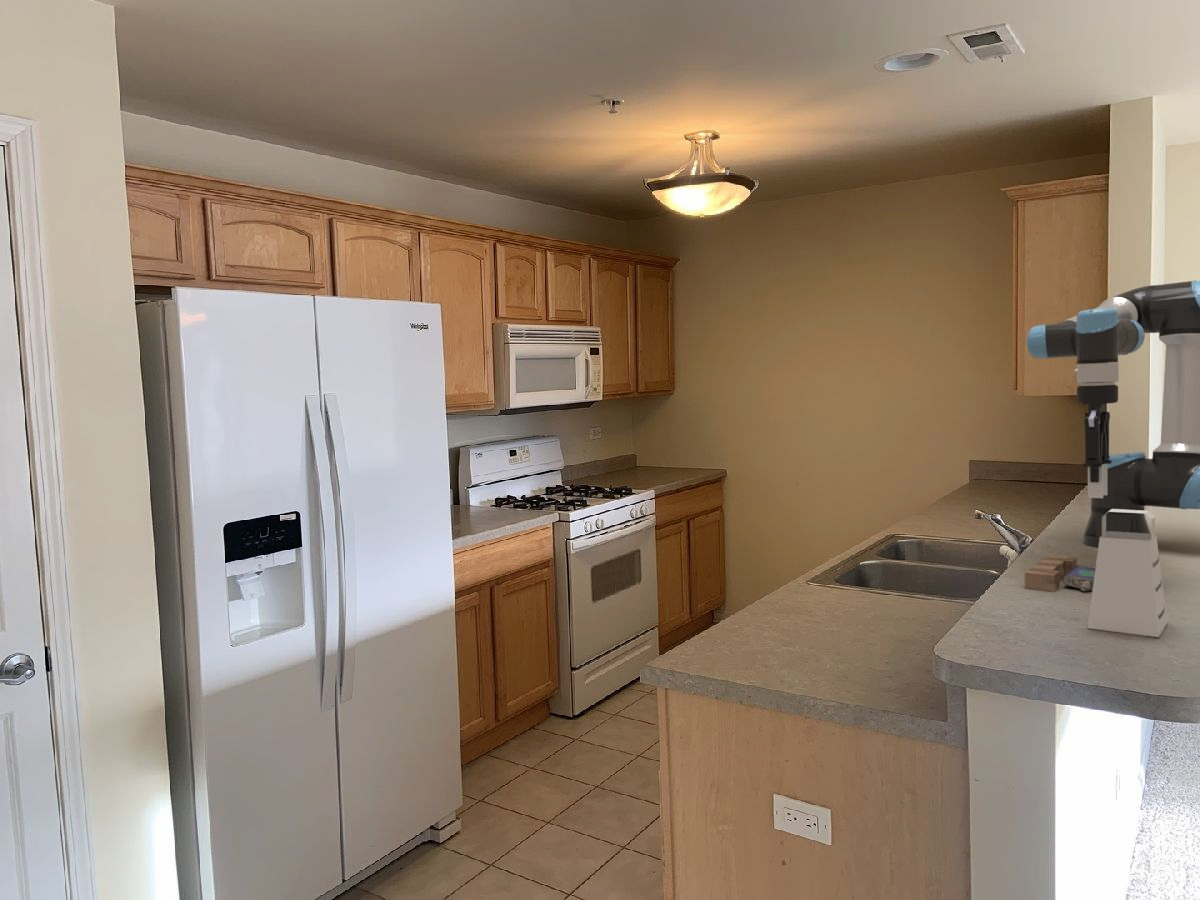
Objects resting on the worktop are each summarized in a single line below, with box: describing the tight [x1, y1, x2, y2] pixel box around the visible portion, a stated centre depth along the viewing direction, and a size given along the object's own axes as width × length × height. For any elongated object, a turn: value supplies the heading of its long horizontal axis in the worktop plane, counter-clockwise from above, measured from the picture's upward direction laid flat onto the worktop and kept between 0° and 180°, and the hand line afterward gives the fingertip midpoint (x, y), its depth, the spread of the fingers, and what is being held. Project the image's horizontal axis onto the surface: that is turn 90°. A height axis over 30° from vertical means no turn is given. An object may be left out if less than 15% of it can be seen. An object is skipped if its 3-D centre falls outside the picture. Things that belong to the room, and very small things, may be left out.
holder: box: [1024, 555, 1078, 593], centre depth 184 cm, size 21×21×4 cm
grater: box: [1087, 509, 1168, 638], centre depth 153 cm, size 10×10×20 cm
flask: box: [1062, 564, 1096, 592], centre depth 181 cm, size 9×3×11 cm
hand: (1097, 496), depth 186 cm, fingers open, 4 cm apart
